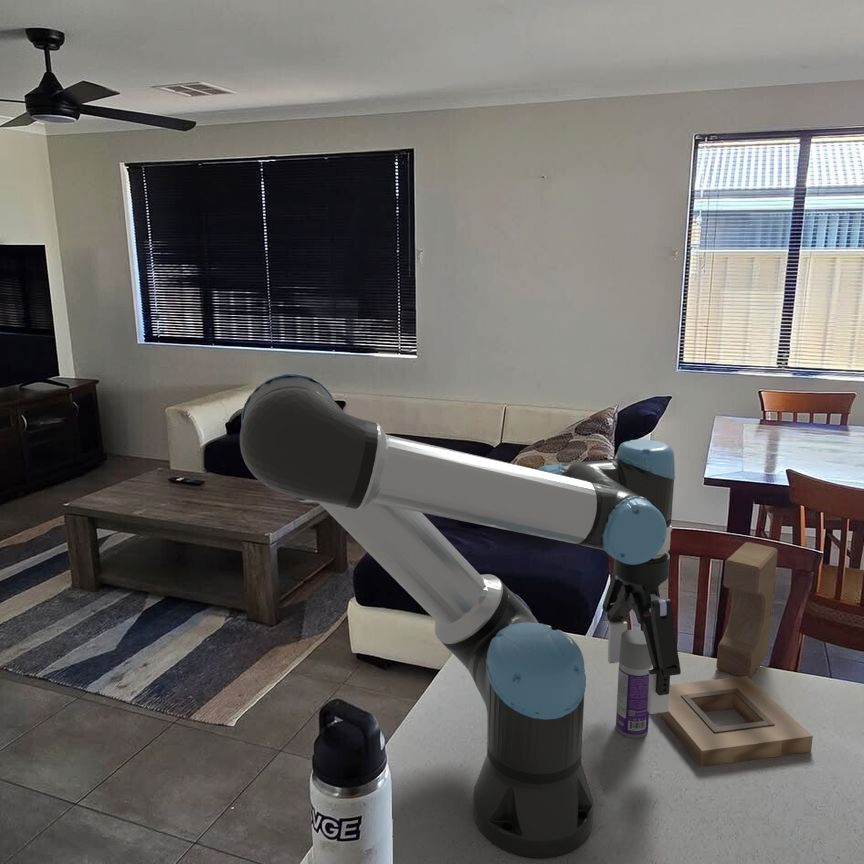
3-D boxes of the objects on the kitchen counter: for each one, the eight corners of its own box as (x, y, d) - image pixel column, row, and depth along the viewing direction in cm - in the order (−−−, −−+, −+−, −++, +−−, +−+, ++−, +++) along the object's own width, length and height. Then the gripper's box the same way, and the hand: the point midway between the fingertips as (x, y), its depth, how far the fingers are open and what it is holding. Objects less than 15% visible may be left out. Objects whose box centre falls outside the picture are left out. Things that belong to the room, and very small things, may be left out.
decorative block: (748, 681, 125) (759, 568, 120) (714, 669, 128) (723, 559, 124) (769, 654, 133) (779, 548, 128) (736, 644, 136) (745, 540, 132)
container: (652, 725, 113) (657, 634, 110) (642, 741, 109) (648, 648, 106) (621, 715, 115) (626, 626, 112) (611, 731, 112) (615, 639, 108)
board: (700, 766, 104) (702, 749, 103) (647, 701, 119) (648, 686, 118) (810, 751, 107) (812, 734, 106) (745, 689, 122) (746, 674, 121)
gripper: (714, 583, 95) (704, 732, 99) (628, 518, 119) (623, 640, 123) (658, 589, 93) (651, 739, 98) (583, 522, 117) (580, 645, 122)
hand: (635, 685), depth 111 cm, fingers open, 13 cm apart
